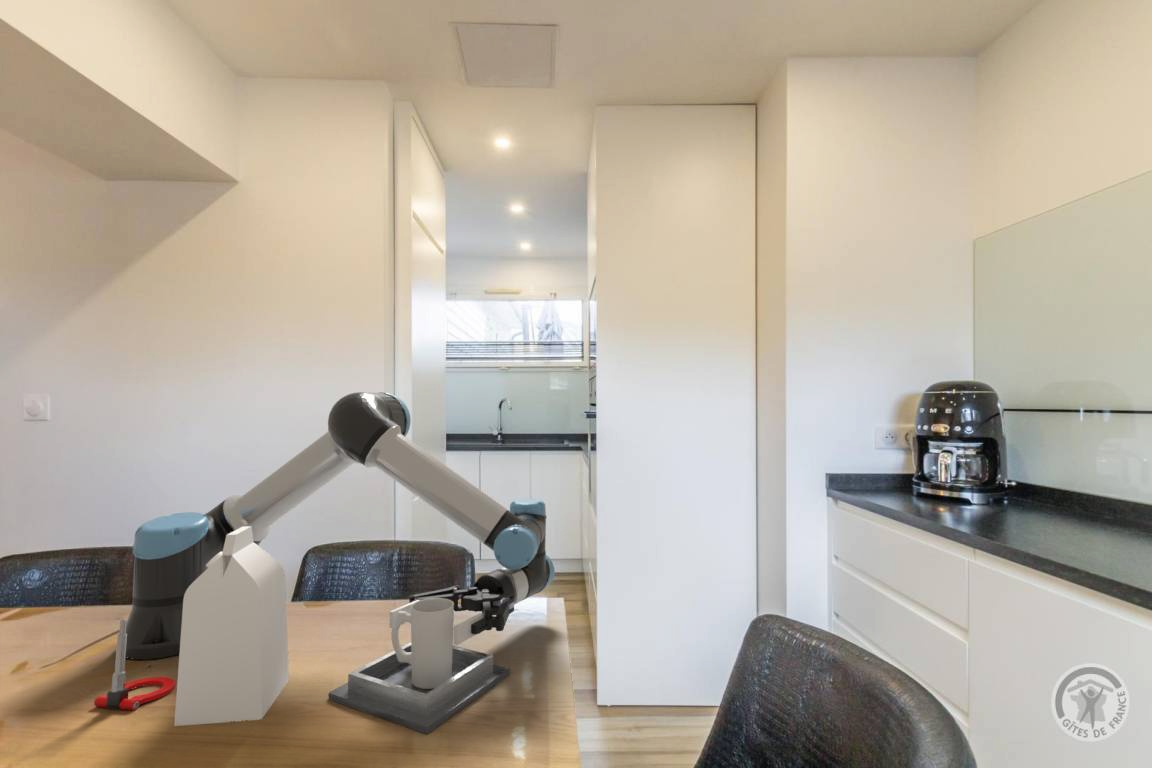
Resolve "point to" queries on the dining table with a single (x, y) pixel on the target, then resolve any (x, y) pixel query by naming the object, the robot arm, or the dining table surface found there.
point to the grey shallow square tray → (418, 689)
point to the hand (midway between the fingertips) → (421, 627)
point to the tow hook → (120, 690)
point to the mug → (427, 641)
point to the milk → (233, 636)
